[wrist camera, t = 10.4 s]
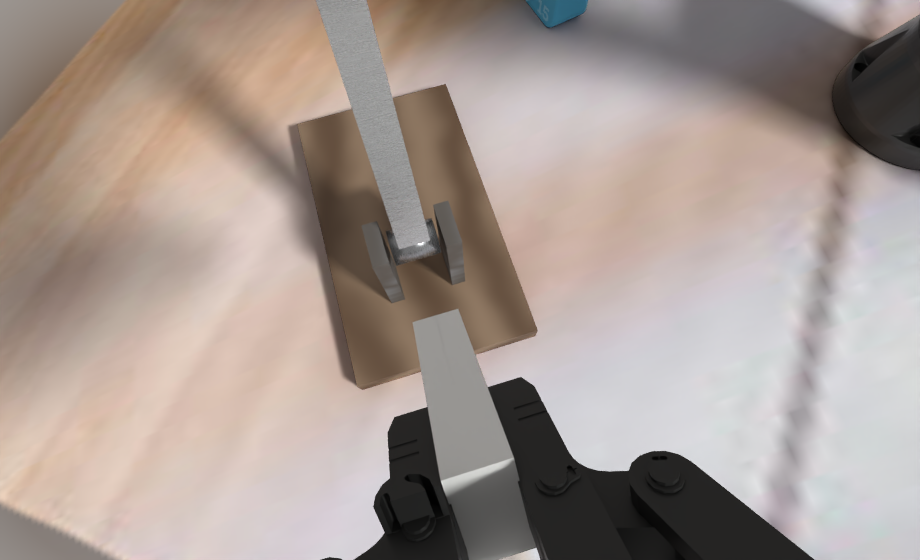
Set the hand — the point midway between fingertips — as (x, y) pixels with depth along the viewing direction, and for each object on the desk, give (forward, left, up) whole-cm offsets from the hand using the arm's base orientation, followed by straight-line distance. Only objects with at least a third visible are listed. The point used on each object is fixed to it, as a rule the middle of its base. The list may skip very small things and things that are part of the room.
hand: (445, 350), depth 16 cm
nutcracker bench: (0, -19, -28) cm, 33 cm away
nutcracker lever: (0, -14, -21) cm, 25 cm away
